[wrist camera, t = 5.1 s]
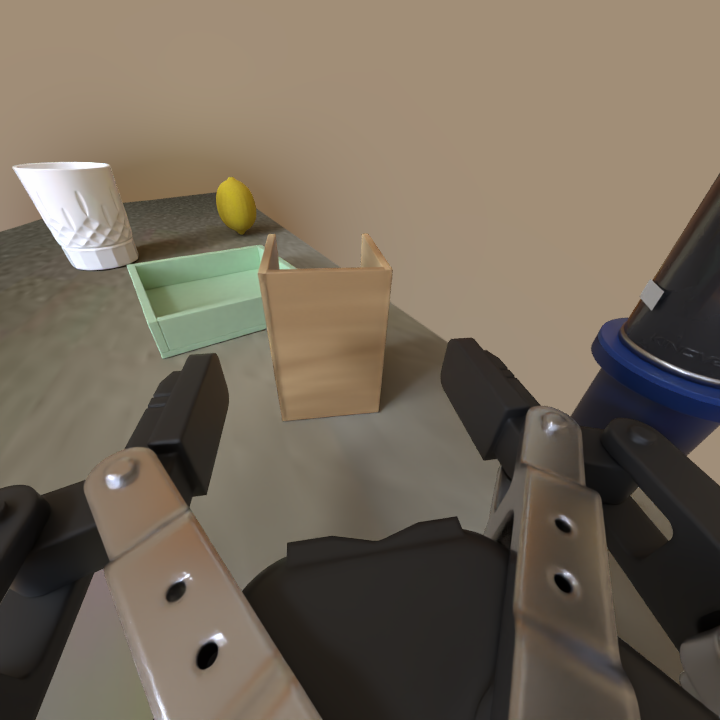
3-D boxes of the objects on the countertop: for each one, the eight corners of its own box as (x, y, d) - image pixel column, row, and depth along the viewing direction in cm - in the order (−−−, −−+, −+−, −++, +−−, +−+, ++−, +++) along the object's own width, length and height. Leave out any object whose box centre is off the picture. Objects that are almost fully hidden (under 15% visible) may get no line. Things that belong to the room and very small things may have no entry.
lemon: (216, 234, 49) (202, 175, 44) (247, 228, 52) (237, 173, 48) (235, 241, 46) (223, 180, 41) (266, 235, 50) (258, 177, 45)
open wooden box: (378, 412, 19) (393, 269, 14) (282, 421, 18) (257, 273, 13) (362, 355, 24) (368, 233, 18) (285, 360, 23) (268, 234, 18)
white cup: (152, 250, 42) (120, 162, 36) (133, 271, 36) (91, 169, 30) (84, 252, 40) (39, 161, 34) (52, 274, 34) (-9, 168, 28)
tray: (264, 269, 37) (261, 244, 36) (319, 313, 29) (318, 282, 27) (138, 294, 31) (126, 264, 29) (162, 359, 22) (147, 323, 21)
